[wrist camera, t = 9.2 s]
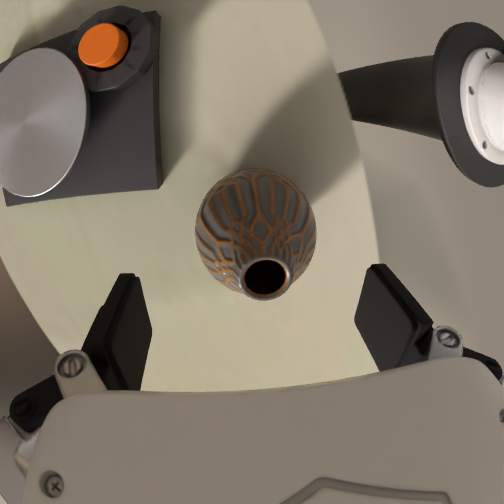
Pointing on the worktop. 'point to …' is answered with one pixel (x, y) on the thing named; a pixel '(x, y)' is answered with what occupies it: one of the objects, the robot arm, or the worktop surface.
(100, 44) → the tare button
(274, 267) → the vase
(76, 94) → the pan
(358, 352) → the worktop surface
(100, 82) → the scale
